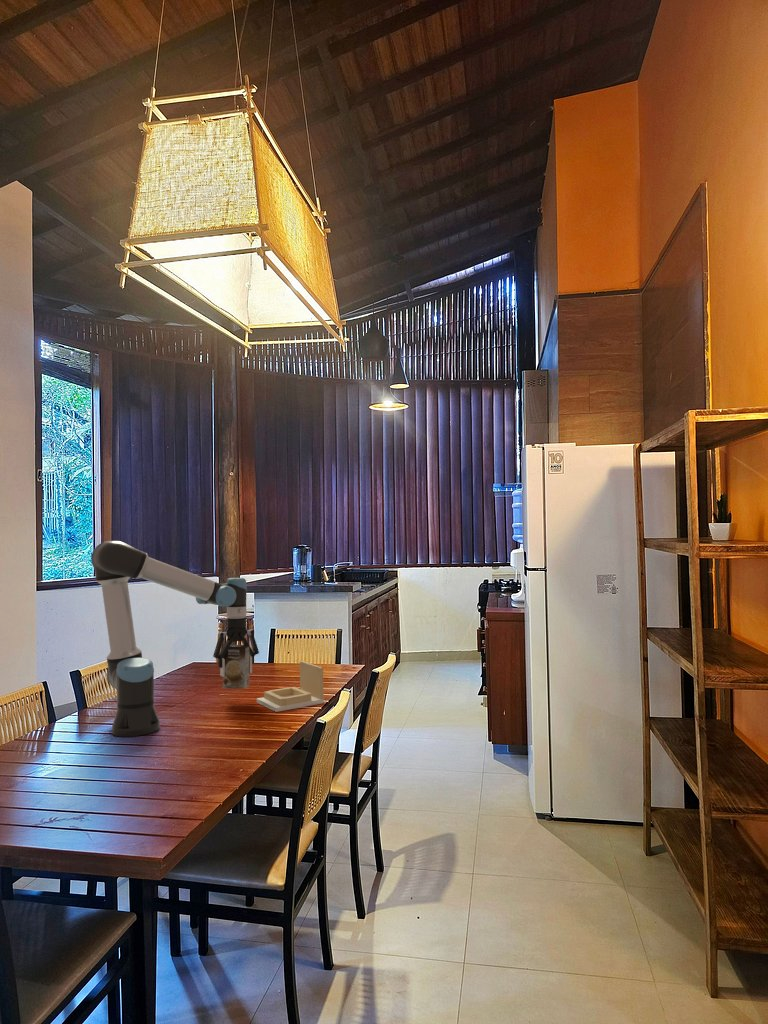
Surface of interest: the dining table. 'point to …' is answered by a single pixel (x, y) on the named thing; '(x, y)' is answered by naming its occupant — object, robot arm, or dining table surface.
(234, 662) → the coffee box
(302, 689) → the display stand
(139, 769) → the dining table surface
